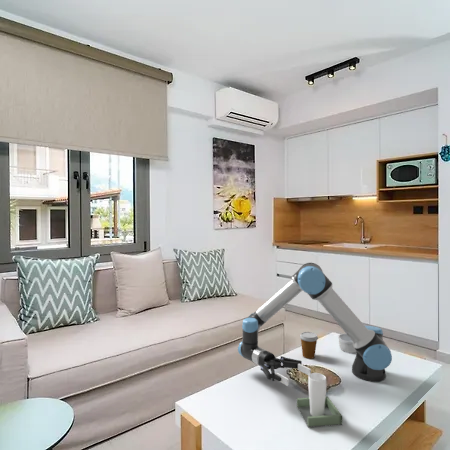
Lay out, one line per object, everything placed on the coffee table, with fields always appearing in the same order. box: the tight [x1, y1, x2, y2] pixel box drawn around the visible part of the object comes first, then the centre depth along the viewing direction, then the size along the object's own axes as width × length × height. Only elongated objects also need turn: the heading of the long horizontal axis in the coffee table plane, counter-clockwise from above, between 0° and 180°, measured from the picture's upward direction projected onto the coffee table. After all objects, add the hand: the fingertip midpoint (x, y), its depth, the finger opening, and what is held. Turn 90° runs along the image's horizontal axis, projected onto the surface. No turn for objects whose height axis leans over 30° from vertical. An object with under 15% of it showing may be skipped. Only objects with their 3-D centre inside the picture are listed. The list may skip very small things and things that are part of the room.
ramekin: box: [338, 333, 356, 354], centre depth 190 cm, size 13×13×7 cm
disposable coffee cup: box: [299, 331, 319, 360], centre depth 181 cm, size 10×10×12 cm
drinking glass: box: [307, 372, 327, 416], centre depth 129 cm, size 7×7×15 cm
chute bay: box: [296, 396, 343, 429], centre depth 129 cm, size 13×13×4 cm
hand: (299, 377), depth 137 cm, fingers open, 13 cm apart
